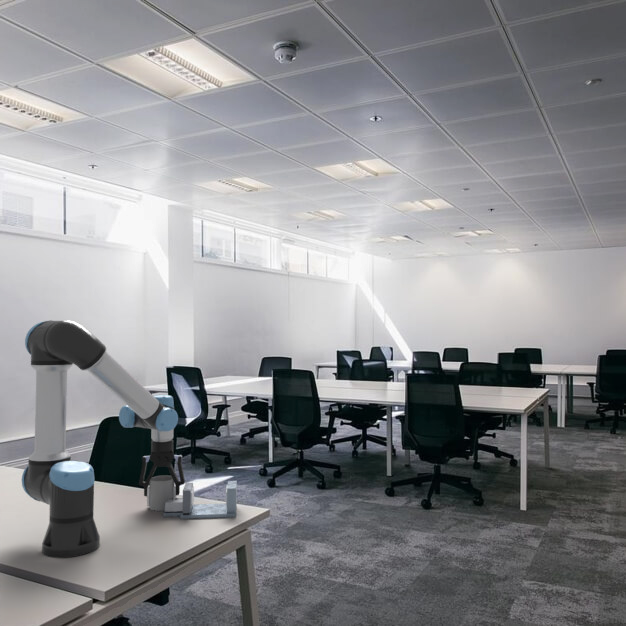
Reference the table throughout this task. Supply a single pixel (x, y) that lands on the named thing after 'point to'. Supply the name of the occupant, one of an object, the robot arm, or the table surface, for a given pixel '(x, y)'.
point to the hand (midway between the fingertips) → (161, 504)
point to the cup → (160, 492)
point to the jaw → (181, 500)
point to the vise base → (212, 507)
